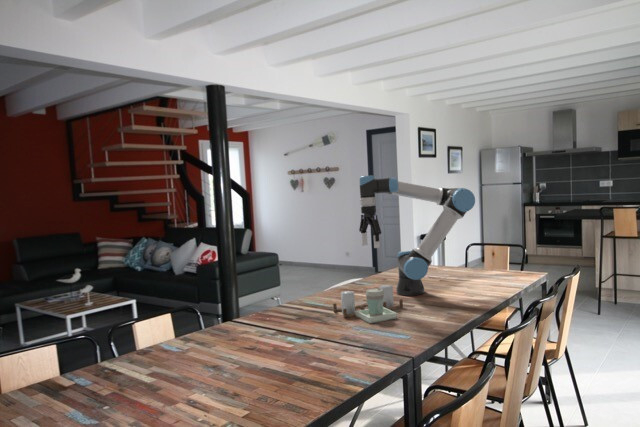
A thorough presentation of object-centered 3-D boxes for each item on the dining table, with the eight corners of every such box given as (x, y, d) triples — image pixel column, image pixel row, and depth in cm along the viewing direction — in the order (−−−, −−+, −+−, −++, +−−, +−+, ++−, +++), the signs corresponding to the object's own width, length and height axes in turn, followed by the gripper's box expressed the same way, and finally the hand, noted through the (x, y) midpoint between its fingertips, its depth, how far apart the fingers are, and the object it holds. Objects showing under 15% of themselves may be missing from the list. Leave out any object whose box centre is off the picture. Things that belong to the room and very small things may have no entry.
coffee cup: (379, 319, 214) (377, 293, 213) (363, 317, 219) (361, 291, 218) (389, 314, 220) (387, 288, 220) (373, 312, 226) (371, 287, 225)
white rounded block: (389, 304, 242) (388, 284, 241) (396, 306, 236) (394, 286, 235) (378, 305, 239) (377, 286, 239) (384, 308, 233) (383, 288, 233)
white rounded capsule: (351, 310, 234) (350, 290, 234) (357, 313, 228) (356, 292, 228) (340, 312, 232) (338, 292, 231) (345, 315, 226) (344, 294, 225)
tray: (382, 311, 229) (382, 306, 228) (397, 318, 216) (396, 312, 215) (355, 316, 224) (355, 310, 224) (369, 323, 211) (369, 317, 210)
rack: (389, 301, 246) (389, 294, 245) (403, 307, 233) (403, 299, 233) (333, 311, 235) (332, 303, 234) (344, 318, 222) (343, 309, 222)
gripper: (351, 205, 257) (354, 245, 258) (372, 206, 233) (375, 249, 235) (364, 204, 259) (366, 243, 261) (386, 205, 236) (389, 248, 237)
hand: (370, 246), depth 248 cm, fingers open, 13 cm apart
